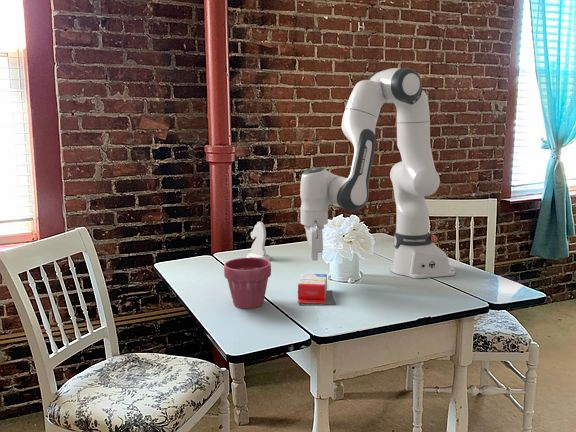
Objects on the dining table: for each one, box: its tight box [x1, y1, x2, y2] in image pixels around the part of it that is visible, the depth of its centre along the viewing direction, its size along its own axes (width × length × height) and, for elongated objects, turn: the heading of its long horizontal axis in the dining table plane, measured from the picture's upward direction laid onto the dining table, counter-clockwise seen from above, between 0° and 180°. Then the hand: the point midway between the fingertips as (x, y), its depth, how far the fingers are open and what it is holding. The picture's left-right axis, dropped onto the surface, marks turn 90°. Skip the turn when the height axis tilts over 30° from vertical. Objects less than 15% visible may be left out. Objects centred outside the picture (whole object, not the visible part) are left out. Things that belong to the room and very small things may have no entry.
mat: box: [298, 289, 337, 306], centre depth 178 cm, size 11×12×1 cm
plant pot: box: [223, 257, 272, 309], centre depth 173 cm, size 14×14×13 cm
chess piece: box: [245, 221, 272, 261], centre depth 221 cm, size 10×10×15 cm
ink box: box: [297, 273, 328, 304], centre depth 179 cm, size 8×5×15 cm
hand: (314, 259), depth 187 cm, fingers closed
